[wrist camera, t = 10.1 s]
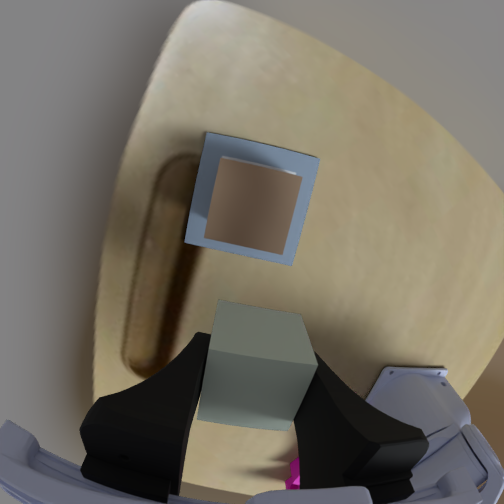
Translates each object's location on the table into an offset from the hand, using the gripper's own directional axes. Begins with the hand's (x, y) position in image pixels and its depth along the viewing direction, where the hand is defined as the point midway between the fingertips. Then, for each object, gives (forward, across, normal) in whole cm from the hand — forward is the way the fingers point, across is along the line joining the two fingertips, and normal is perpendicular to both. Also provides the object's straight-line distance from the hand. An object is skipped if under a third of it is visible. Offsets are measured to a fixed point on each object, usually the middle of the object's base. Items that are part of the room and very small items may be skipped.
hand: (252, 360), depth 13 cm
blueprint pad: (+10, +1, -6) cm, 12 cm away
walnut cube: (+10, +1, -6) cm, 11 cm away
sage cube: (+2, 0, 0) cm, 2 cm away
